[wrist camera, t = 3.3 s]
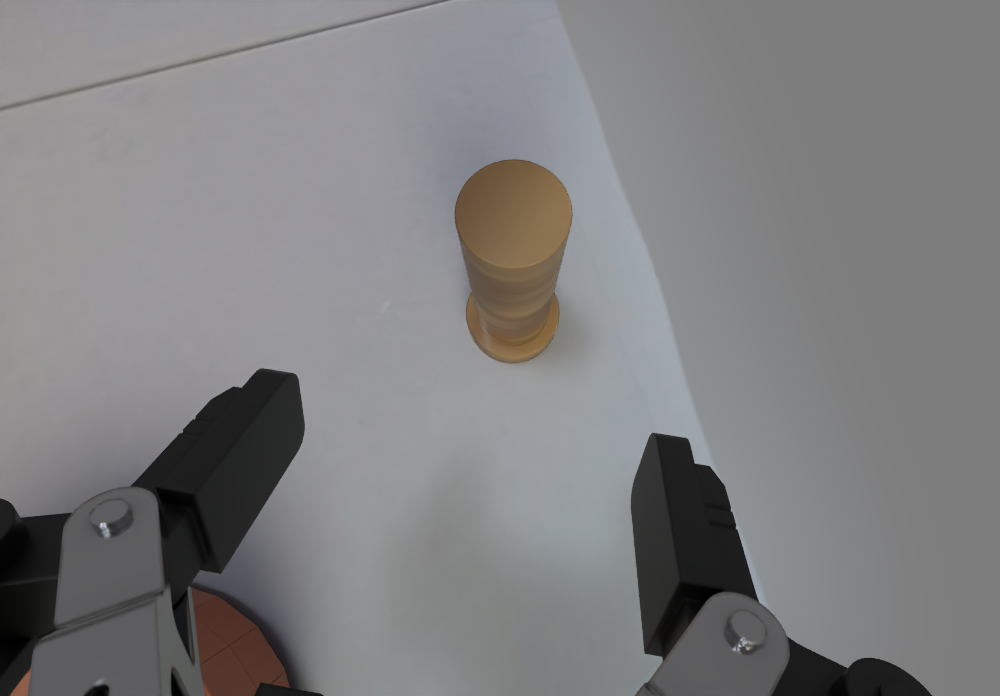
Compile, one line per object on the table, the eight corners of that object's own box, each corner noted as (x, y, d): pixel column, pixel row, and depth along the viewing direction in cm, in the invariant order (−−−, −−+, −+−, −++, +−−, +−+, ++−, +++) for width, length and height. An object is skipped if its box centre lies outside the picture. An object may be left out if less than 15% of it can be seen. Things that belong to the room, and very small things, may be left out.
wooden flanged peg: (573, 307, 29) (621, 190, 16) (525, 380, 28) (537, 317, 16) (500, 261, 30) (491, 115, 17) (451, 332, 29) (403, 234, 16)
